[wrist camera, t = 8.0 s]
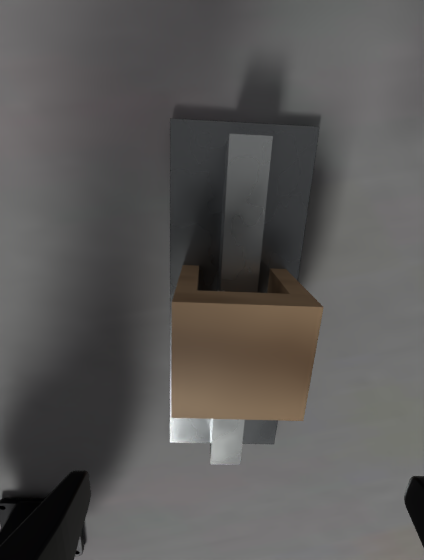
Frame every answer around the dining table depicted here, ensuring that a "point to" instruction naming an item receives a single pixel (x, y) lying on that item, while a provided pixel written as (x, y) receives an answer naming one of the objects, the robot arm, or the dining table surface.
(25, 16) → the dining table surface
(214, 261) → the rail
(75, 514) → the robot arm
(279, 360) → the walnut clip
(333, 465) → the dining table surface
